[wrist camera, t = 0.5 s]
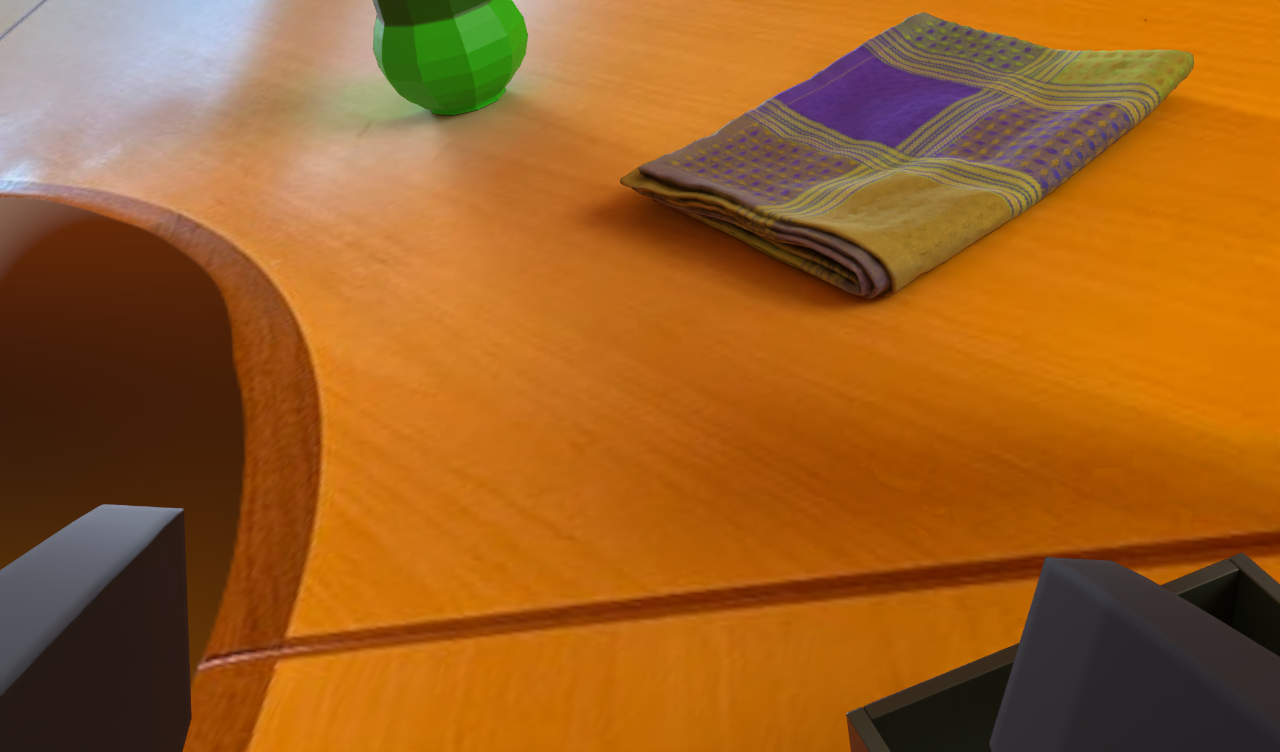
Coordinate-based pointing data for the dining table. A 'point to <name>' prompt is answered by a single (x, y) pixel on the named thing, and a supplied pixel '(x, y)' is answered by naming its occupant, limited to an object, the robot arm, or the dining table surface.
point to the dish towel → (909, 149)
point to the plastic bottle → (449, 50)
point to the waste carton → (972, 694)
